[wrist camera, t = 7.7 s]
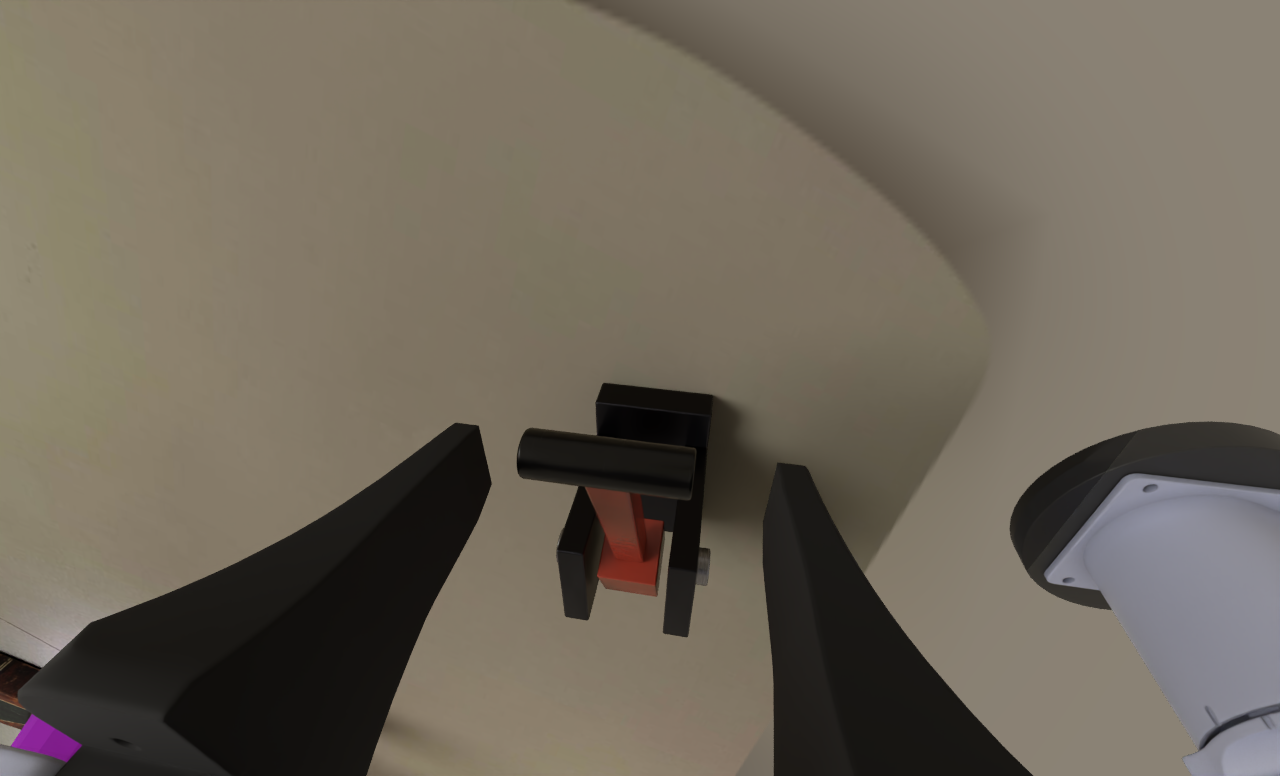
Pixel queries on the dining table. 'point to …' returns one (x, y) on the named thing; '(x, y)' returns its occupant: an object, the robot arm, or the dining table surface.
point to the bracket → (644, 500)
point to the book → (13, 690)
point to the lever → (615, 494)
